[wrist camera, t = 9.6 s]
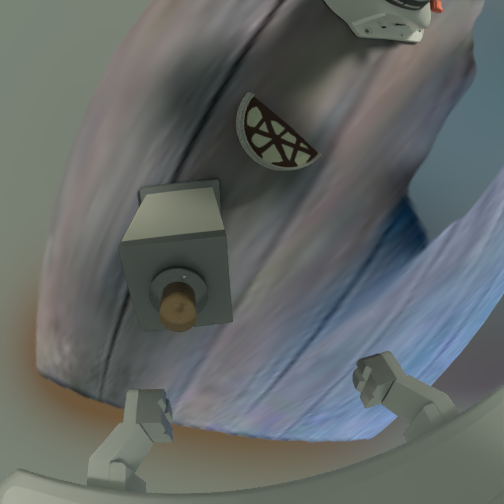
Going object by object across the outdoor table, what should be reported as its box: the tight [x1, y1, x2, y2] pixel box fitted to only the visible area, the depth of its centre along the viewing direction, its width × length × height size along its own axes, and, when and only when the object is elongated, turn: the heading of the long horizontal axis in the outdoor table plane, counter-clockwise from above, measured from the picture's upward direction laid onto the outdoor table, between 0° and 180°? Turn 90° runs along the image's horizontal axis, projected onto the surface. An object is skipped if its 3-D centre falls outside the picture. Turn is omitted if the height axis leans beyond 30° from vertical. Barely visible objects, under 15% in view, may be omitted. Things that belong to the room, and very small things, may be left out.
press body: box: [118, 179, 233, 332], centre depth 36 cm, size 12×12×20 cm
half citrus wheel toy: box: [236, 92, 323, 171], centre depth 37 cm, size 12×6×10 cm, turn 50°
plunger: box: [149, 266, 208, 332], centre depth 32 cm, size 7×7×19 cm
